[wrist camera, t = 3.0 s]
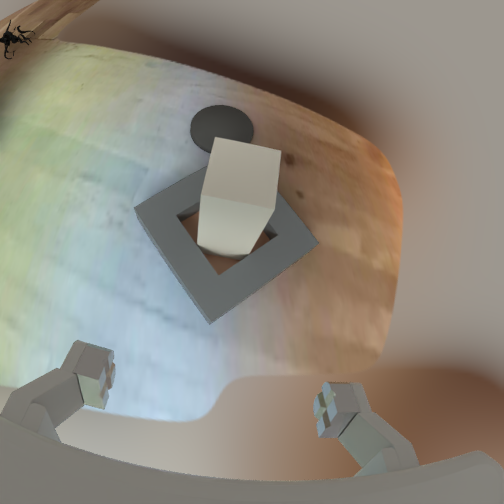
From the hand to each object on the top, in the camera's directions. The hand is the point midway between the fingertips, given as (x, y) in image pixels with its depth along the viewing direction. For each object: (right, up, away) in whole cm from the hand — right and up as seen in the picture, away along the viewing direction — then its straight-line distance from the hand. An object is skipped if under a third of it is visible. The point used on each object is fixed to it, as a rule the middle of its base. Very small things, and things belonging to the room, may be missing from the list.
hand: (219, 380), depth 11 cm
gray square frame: (-1, +6, +19) cm, 20 cm away
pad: (-2, +18, +23) cm, 29 cm away
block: (-1, +7, +19) cm, 20 cm away
